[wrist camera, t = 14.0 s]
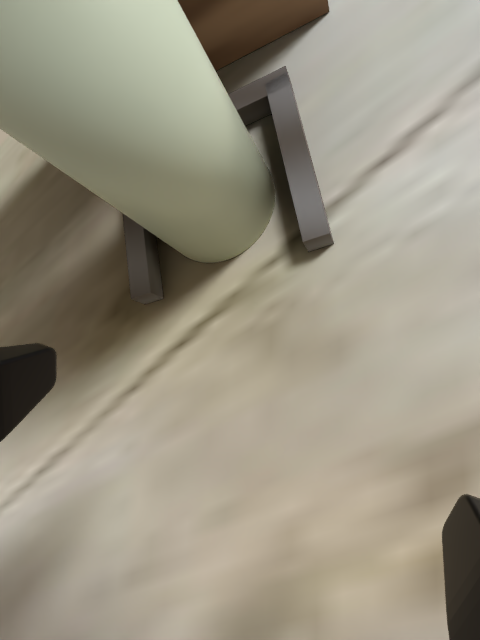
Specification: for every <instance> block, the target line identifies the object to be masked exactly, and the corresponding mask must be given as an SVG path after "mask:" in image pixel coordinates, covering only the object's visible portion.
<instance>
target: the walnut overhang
mask: <svg viewBox="0 0 480 640" xmlns="http://www.w3.org/2000/svg"><path fill="white" fill-rule="evenodd" d="M178 2H179V4H180V6H181V8H182V10H183V12H184V13H185V15H186V17H187V19H188V21H189V23H190V25H191V26H192V28H193V30H194V32H195V34H196V36H197V38H198V39H199V41H200V43H201V45H202V47H203V49H204V51H205V53H206V54H207V56H208V58H209V60H210V62H211V64H212V66H213V67H214V69H215V71H217V70H218V69H220V68H222V67H224V66H226V65H228V64H230V63H232V62H234V61H236V60H238V59H240V58H241V57H243V56H245V55H247V54H249V53H251V52H253V51H255V50H257V49H259V48H261V47H262V46H264V45H266V44H268V43H270V42H272V41H274V40H276V39H278V38H280V37H282V36H284V35H285V34H287V33H289V32H291V31H293V30H295V29H297V28H299V27H301V26H303V25H305V24H306V23H308V22H310V21H312V20H314V19H316V18H318V17H320V16H322V15H324V14H326V13H328V12H329V6H328V0H178ZM228 95H229V97H230V99H231V101H232V103H233V105H234V106H235V108H236V110H237V112H238V114H239V116H240V118H241V120H242V121H243V123H244V125H245V126H246V125H248V124H250V123H252V122H254V121H257V120H259V119H261V118H263V117H265V116H268V115H270V114H272V116H273V120H274V124H275V128H276V133H277V137H278V141H279V145H280V149H281V153H282V157H283V162H284V166H285V170H286V174H287V178H288V182H289V186H290V190H291V195H292V199H293V203H294V207H295V211H296V215H297V219H298V224H299V228H300V232H301V236H302V240H303V243H304V245H305V246H306V248H307V250H308V252H309V251H313V250H316V249H319V248H322V247H325V246H328V245H331V244H334V242H333V238H332V235H331V231H330V227H329V223H328V220H327V216H326V212H325V208H324V205H323V201H322V197H321V193H320V190H319V186H318V182H317V178H316V175H315V171H314V167H313V163H312V160H311V156H310V152H309V148H308V145H307V141H306V137H305V133H304V130H303V126H302V122H301V118H300V115H299V111H298V107H297V103H296V100H295V96H294V92H293V88H292V85H291V81H290V78H289V75H288V72H287V69H286V66H284V67H282V68H280V69H278V70H276V71H274V72H272V73H270V74H268V75H266V76H264V77H262V78H260V79H258V80H256V81H254V82H252V83H250V84H248V85H246V86H244V87H242V88H240V89H238V90H236V91H234V92H232V93H230V94H228ZM123 221H124V231H125V242H126V252H127V262H128V273H129V283H130V293H131V299H132V300H135V301H138V302H140V303H143V304H148V303H151V302H154V301H157V300H160V299H163V298H164V297H163V289H162V281H161V273H160V265H159V257H158V248H157V240H156V236H155V235H154V234H152V233H151V232H149V231H148V230H146V229H145V228H144V227H142V226H141V225H139V224H138V223H136V222H135V221H133V220H132V219H130V218H129V217H128V216H126V215H125V214H123Z"/></svg>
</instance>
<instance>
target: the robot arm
mask: <svg viewBox="0 0 480 640" xmlns="http://www.w3.org/2000/svg"><path fill="white" fill-rule="evenodd" d="M55 382H56V352H55V350H54V349H53V348H51V347H48V346H45V345H43V344H39V343H35V344H26V345H17V346H9V347H0V442H1V441H2V440H3V439H4V438H5V437H6V436H7V435H8V434H9V433H10V432H11V431H12V430H13V429H14V428H15V427H16V426H17V425H18V424H19V423H20V422H21V421H22V420H23V419H24V418H25V417H26V415H27V414H28V413H29V412H30V411H31V410H32V409H33V408H34V407H35V406H36V405H37V404H38V403H39V402H40V401H41V400H42V399H43V398H44V397H45V395H46V394H47V393H48V392H49V391H50V390H51V389H52V388H53V386H54V384H55ZM442 544H443V562H444V579H445V596H446V612H447V624H448V631H449V639H450V640H480V498H477V497H474V496H471V495H468V494H464V495H462V496H461V497H460V498H459V499H458V501H457V502H456V504H455V506H454V508H453V509H452V511H451V513H450V515H449V517H448V518H447V520H446V522H445V524H444V527H443V531H442Z"/></svg>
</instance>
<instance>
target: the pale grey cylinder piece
mask: <svg viewBox="0 0 480 640" xmlns="http://www.w3.org/2000/svg"><path fill="white" fill-rule="evenodd" d="M0 129H1V130H3V131H4V132H6V133H7V134H9V135H10V136H11V137H13V138H14V139H16V140H17V141H19V142H20V143H22V144H23V145H25V146H26V147H27V148H29V149H30V150H32V151H33V152H35V153H36V154H38V155H39V156H40V157H42V158H43V159H45V160H46V161H48V162H49V163H51V164H52V165H54V166H55V167H56V168H58V169H59V170H61V171H62V172H64V173H65V174H67V175H68V176H70V177H71V178H72V179H74V180H75V181H77V182H78V183H80V184H81V185H83V186H84V187H85V188H87V189H88V190H90V191H91V192H93V193H94V194H96V195H97V196H99V197H100V198H101V199H103V200H104V201H106V202H107V203H109V204H110V205H112V206H113V207H115V208H116V209H117V210H119V211H120V212H122V213H123V214H125V215H126V216H128V217H129V218H130V219H132V220H133V221H135V222H136V223H138V224H139V225H141V226H142V227H144V228H145V229H146V230H148V231H149V232H151V233H152V234H154V235H155V236H157V237H158V238H160V239H161V240H162V241H164V242H165V243H167V244H168V245H170V246H171V247H173V248H174V249H175V250H177V251H178V252H180V253H181V254H183V255H184V256H186V257H187V258H189V259H191V260H194V261H197V262H203V263H216V262H222V261H225V260H228V259H231V258H233V257H235V256H237V255H239V254H241V253H242V252H244V251H245V250H247V249H248V248H249V247H250V246H251V245H253V244H254V243H255V242H256V240H257V239H258V238H259V237H260V236H261V234H262V233H263V232H264V230H265V229H266V227H267V225H268V223H269V221H270V218H271V216H272V213H273V209H274V205H275V186H274V182H273V178H272V176H271V174H270V172H269V170H268V168H267V166H266V164H265V162H264V160H263V159H262V157H261V155H260V153H259V151H258V149H257V147H256V146H255V144H254V142H253V140H252V138H251V136H250V134H249V133H248V131H247V129H246V127H245V125H244V123H243V121H242V120H241V118H240V116H239V114H238V112H237V110H236V108H235V106H234V105H233V103H232V101H231V99H230V97H229V95H228V93H227V92H226V90H225V88H224V86H223V84H222V82H221V80H220V79H219V77H218V75H217V73H216V71H215V69H214V67H213V66H212V64H211V62H210V60H209V58H208V56H207V54H206V53H205V51H204V49H203V47H202V45H201V43H200V41H199V39H198V38H197V36H196V34H195V32H194V30H193V28H192V26H191V25H190V23H189V21H188V19H187V17H186V15H185V13H184V12H183V10H182V8H181V6H180V4H179V2H178V0H0Z"/></svg>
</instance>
